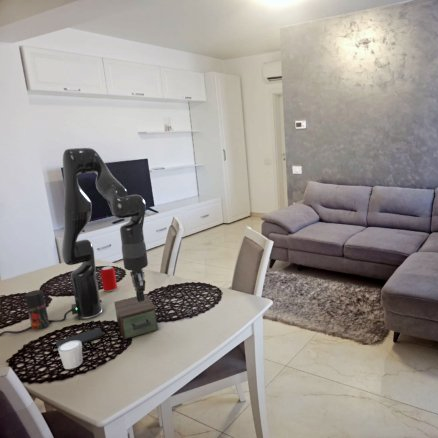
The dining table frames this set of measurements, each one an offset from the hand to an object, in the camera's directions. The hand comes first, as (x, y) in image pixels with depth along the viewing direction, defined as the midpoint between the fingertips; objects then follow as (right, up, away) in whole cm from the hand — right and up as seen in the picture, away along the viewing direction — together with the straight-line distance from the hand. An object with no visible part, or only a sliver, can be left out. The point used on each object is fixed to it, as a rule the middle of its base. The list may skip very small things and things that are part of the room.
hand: (140, 300), depth 126 cm
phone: (-27, -17, +11) cm, 34 cm away
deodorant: (-50, -16, +22) cm, 57 cm away
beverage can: (-39, -8, +57) cm, 69 cm away
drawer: (-8, -15, +16) cm, 23 cm away
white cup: (-21, -21, -4) cm, 30 cm away
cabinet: (-10, -15, +19) cm, 26 cm away
